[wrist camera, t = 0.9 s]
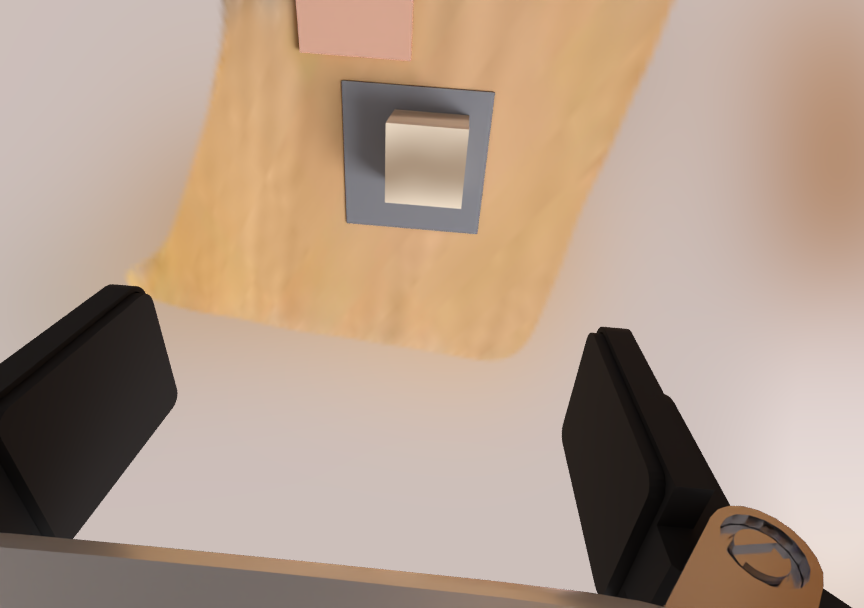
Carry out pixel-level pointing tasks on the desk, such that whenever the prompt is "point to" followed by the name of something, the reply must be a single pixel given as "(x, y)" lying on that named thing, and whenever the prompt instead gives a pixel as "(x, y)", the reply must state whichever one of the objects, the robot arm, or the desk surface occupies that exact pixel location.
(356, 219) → the gray board
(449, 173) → the maple block
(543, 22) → the desk surface
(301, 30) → the terracotta tile
